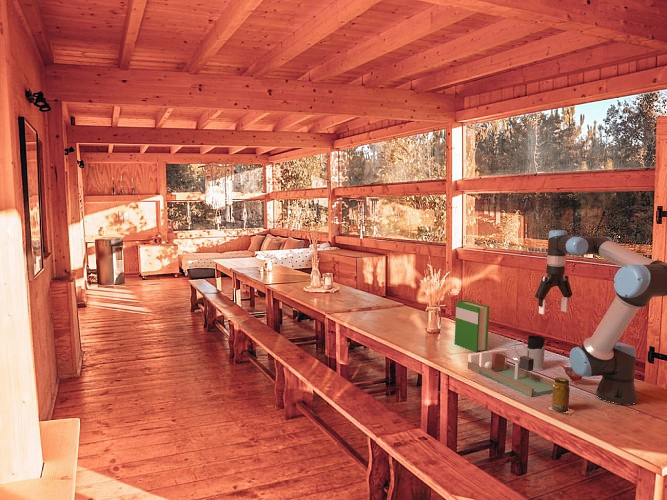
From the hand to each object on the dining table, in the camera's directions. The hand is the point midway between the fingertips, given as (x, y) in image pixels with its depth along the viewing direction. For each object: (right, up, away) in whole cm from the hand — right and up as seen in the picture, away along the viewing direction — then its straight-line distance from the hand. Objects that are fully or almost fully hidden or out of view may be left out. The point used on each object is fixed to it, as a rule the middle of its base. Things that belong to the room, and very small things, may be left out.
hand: (552, 312), depth 246 cm
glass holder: (-4, -29, +20) cm, 36 cm away
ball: (-24, -27, +15) cm, 39 cm away
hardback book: (-23, -25, +54) cm, 64 cm away
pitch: (-18, -30, +2) cm, 35 cm away
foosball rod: (-18, -28, +1) cm, 33 cm away
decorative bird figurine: (+8, -31, +1) cm, 32 cm away
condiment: (-9, -34, -32) cm, 48 cm away
